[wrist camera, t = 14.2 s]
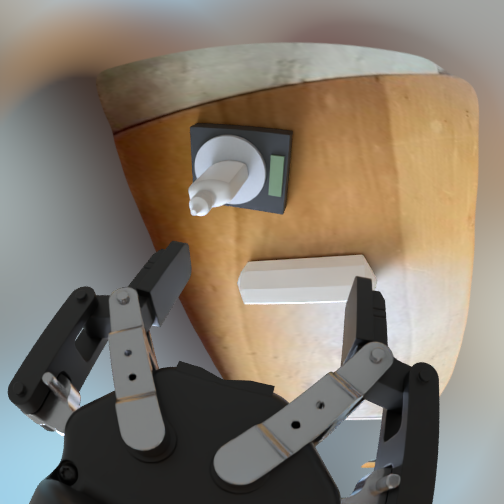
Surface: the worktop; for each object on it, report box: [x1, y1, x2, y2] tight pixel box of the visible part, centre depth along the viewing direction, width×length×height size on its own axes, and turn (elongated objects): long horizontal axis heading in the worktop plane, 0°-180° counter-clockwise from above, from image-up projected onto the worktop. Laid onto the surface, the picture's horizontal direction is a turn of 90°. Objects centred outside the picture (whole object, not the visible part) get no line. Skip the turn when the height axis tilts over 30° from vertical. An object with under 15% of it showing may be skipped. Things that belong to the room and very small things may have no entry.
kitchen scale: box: [190, 123, 293, 214], centre depth 42 cm, size 12×14×3 cm
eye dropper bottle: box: [189, 160, 248, 216], centre depth 36 cm, size 4×6×12 cm
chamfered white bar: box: [237, 255, 377, 304], centre depth 50 cm, size 7×7×24 cm
